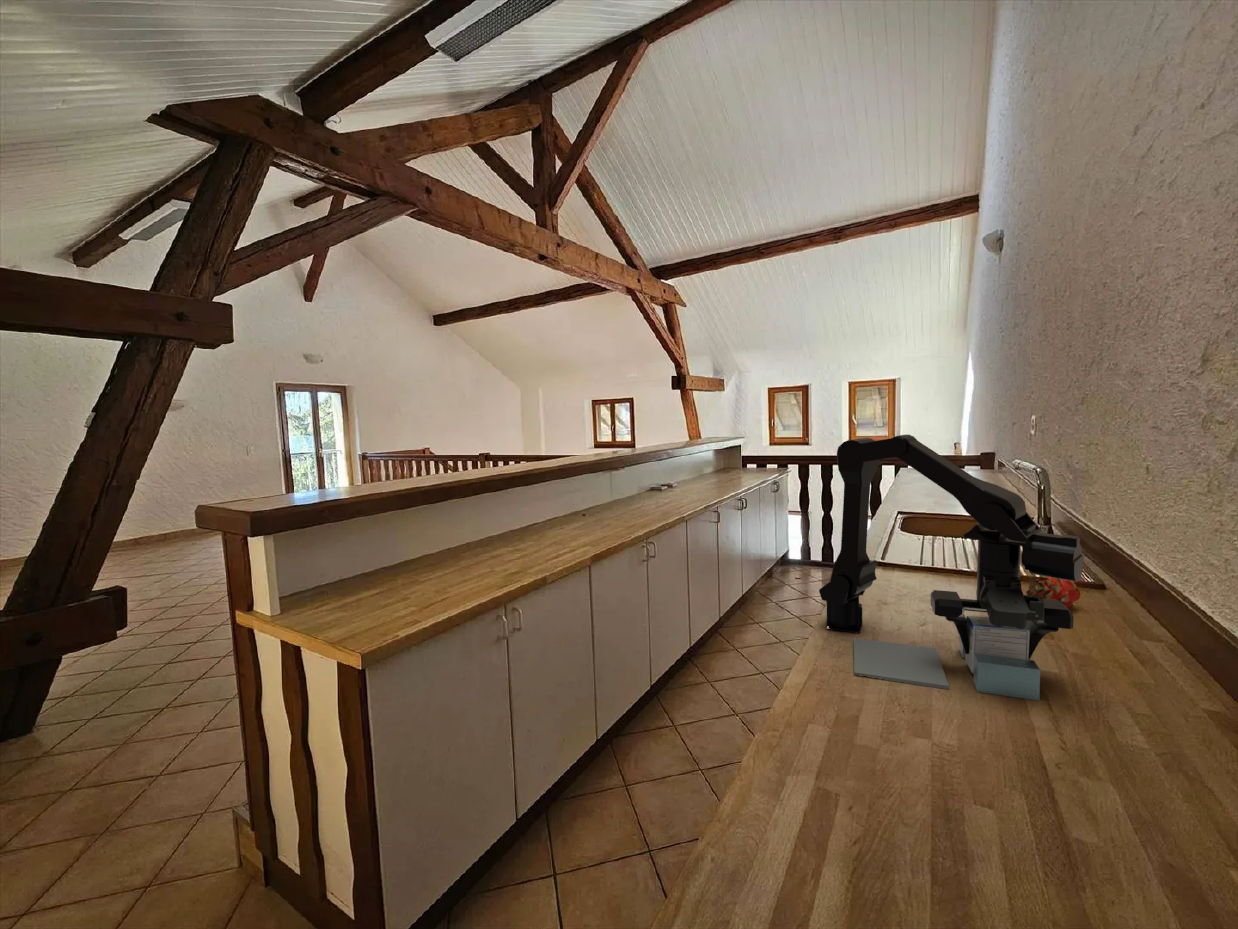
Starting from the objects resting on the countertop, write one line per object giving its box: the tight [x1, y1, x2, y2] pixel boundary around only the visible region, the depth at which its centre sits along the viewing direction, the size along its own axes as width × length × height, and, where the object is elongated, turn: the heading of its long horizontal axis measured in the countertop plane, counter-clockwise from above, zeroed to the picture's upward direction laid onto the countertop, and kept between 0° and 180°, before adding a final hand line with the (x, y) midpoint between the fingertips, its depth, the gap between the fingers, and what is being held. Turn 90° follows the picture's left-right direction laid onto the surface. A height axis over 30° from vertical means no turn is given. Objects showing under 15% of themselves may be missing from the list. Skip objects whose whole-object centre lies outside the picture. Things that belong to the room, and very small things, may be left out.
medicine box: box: [964, 615, 1030, 674], centre depth 88 cm, size 8×4×9 cm, turn 70°
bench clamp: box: [959, 638, 1041, 701], centre depth 91 cm, size 8×21×5 cm, turn 156°
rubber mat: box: [853, 637, 950, 690], centre depth 93 cm, size 14×14×1 cm
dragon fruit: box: [1025, 575, 1081, 612], centre depth 113 cm, size 8×8×12 cm
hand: (995, 656), depth 88 cm, fingers closed on medicine box, 8 cm apart
